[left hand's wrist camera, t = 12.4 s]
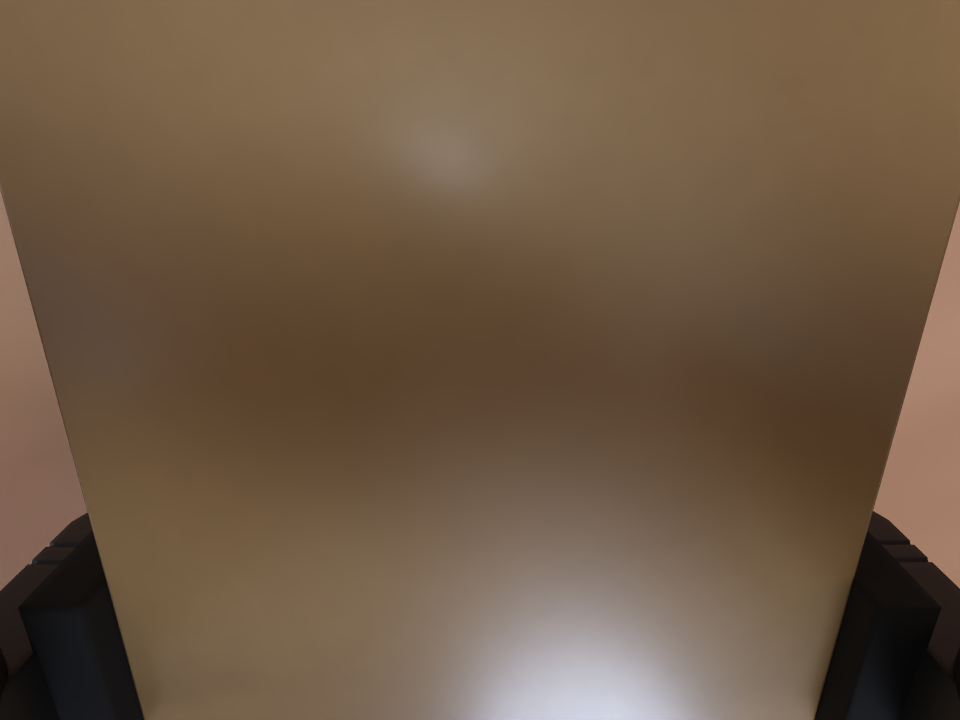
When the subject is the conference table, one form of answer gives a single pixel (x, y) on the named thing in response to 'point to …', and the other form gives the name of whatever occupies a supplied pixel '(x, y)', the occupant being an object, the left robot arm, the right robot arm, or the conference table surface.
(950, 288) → the conference table surface
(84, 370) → the wide beam
